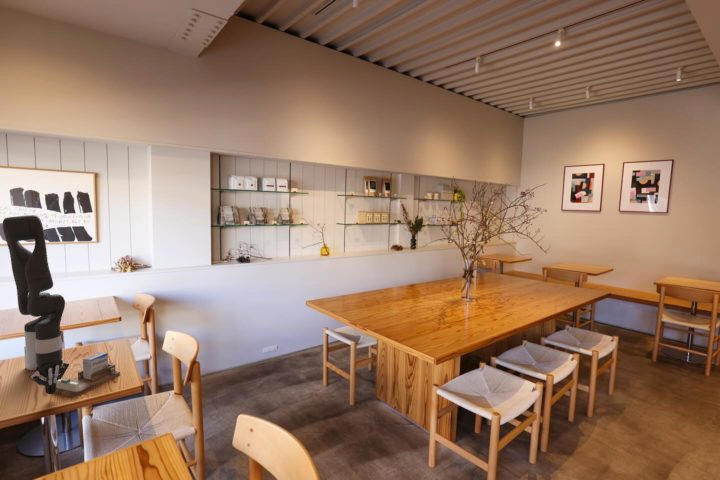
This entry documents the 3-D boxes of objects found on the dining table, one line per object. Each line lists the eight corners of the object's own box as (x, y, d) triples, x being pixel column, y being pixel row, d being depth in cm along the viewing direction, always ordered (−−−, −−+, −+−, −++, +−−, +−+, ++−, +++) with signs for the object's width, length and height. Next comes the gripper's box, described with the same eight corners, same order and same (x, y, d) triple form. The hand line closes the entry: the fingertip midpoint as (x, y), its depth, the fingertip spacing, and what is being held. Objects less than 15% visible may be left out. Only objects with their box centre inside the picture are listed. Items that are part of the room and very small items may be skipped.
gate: (53, 388, 146) (52, 378, 145) (57, 386, 147) (57, 376, 147) (74, 392, 143) (74, 382, 142) (79, 390, 145) (78, 380, 144)
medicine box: (91, 380, 153) (90, 360, 152) (83, 378, 154) (82, 358, 153) (108, 372, 161) (108, 352, 160) (100, 370, 162) (99, 351, 161)
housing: (50, 392, 145) (49, 381, 145) (98, 370, 164) (97, 361, 164) (73, 397, 142) (73, 386, 142) (119, 374, 161) (119, 365, 161)
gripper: (36, 356, 131) (39, 403, 133) (74, 343, 144) (76, 386, 145) (21, 354, 133) (23, 400, 135) (59, 341, 146) (61, 383, 147)
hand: (51, 393), depth 140 cm, fingers closed
